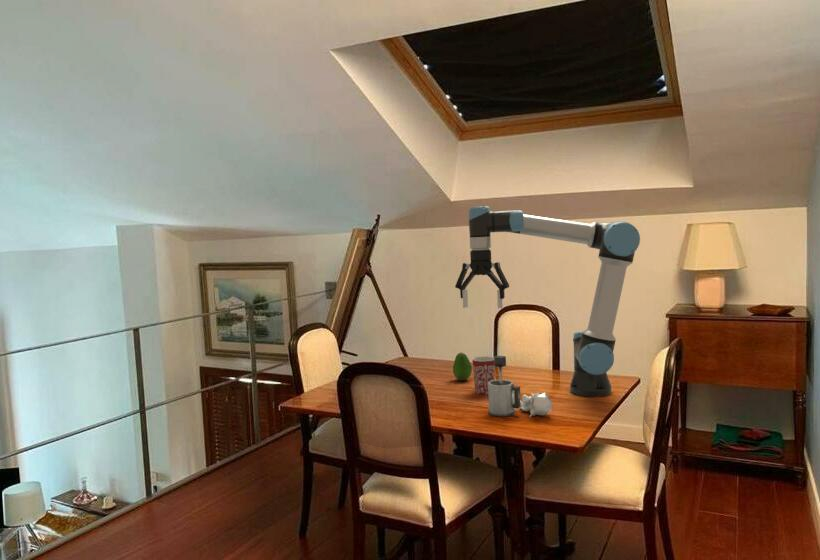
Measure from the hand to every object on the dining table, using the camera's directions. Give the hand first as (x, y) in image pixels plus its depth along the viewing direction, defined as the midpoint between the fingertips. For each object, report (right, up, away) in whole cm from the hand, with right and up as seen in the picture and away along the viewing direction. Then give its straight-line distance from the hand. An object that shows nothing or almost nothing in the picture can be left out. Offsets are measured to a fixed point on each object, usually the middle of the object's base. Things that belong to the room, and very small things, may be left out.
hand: (482, 307), depth 224 cm
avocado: (-4, -33, +36) cm, 49 cm away
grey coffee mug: (+5, -36, -13) cm, 38 cm away
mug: (+2, -34, +17) cm, 38 cm away
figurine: (+16, -36, -15) cm, 42 cm away
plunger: (+5, -33, -13) cm, 36 cm away
